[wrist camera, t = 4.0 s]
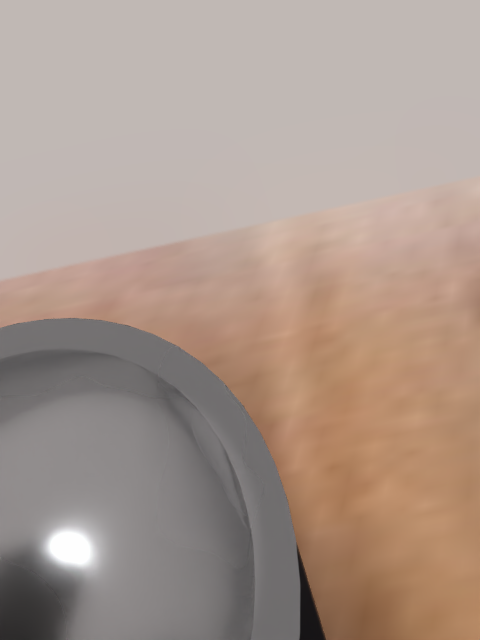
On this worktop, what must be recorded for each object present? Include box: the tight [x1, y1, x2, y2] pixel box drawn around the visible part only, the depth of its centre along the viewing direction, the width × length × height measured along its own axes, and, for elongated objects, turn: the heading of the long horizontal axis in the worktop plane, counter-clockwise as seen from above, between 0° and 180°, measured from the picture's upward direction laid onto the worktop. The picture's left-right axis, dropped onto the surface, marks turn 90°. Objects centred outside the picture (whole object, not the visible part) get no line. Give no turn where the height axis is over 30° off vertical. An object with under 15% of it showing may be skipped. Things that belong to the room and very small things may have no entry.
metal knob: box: [0, 318, 300, 640], centre depth 9 cm, size 6×6×12 cm
